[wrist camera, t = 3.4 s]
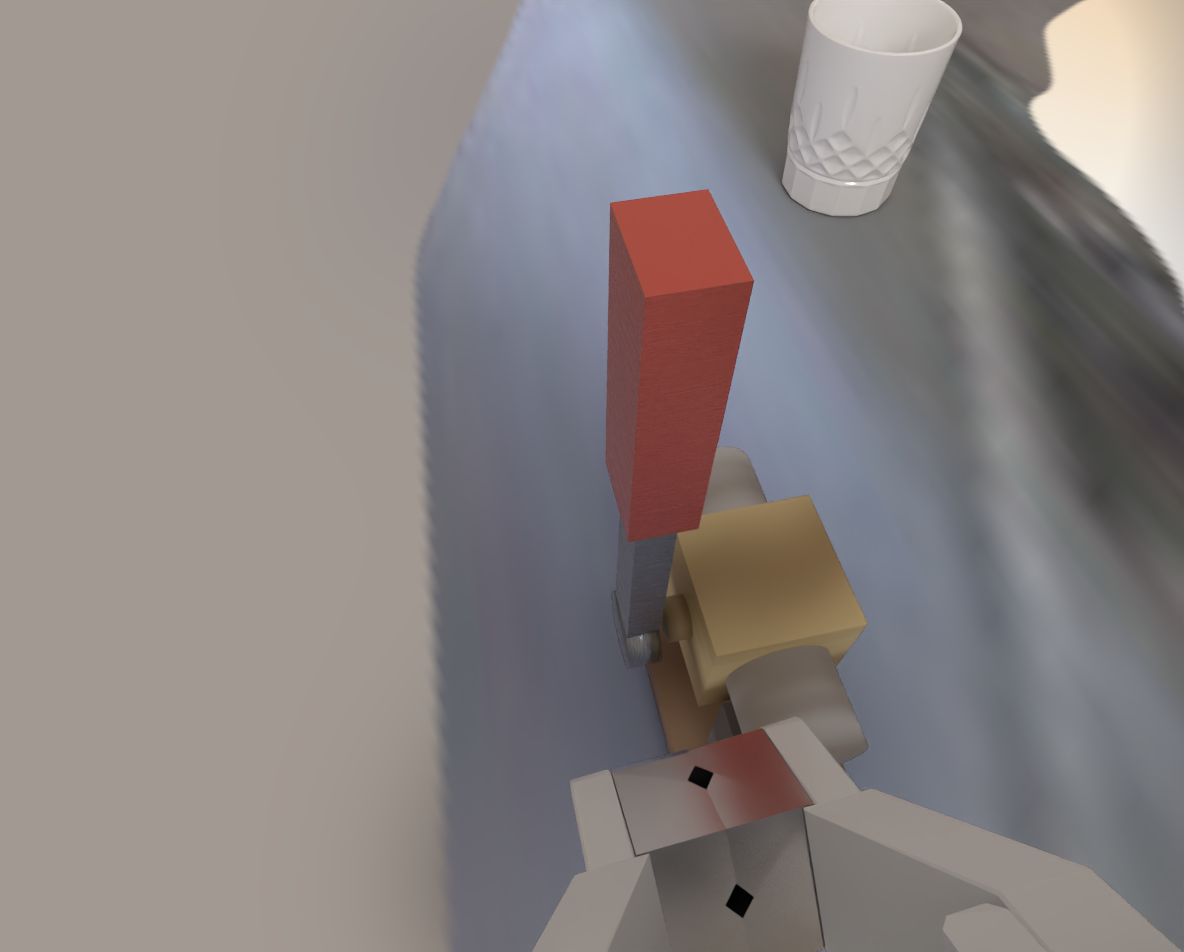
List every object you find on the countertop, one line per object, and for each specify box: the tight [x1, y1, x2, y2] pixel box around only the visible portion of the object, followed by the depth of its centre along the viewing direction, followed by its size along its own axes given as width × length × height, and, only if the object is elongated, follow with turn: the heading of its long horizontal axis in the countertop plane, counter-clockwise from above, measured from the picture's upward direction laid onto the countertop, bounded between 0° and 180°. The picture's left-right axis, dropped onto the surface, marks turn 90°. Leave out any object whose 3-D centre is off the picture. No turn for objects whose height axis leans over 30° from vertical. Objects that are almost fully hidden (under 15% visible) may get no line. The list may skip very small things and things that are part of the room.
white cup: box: [782, 0, 962, 216], centre depth 43 cm, size 8×8×10 cm
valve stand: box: [646, 447, 868, 771], centre depth 26 cm, size 10×6×9 cm, turn 12°
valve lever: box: [606, 189, 754, 669], centre depth 18 cm, size 2×2×16 cm
